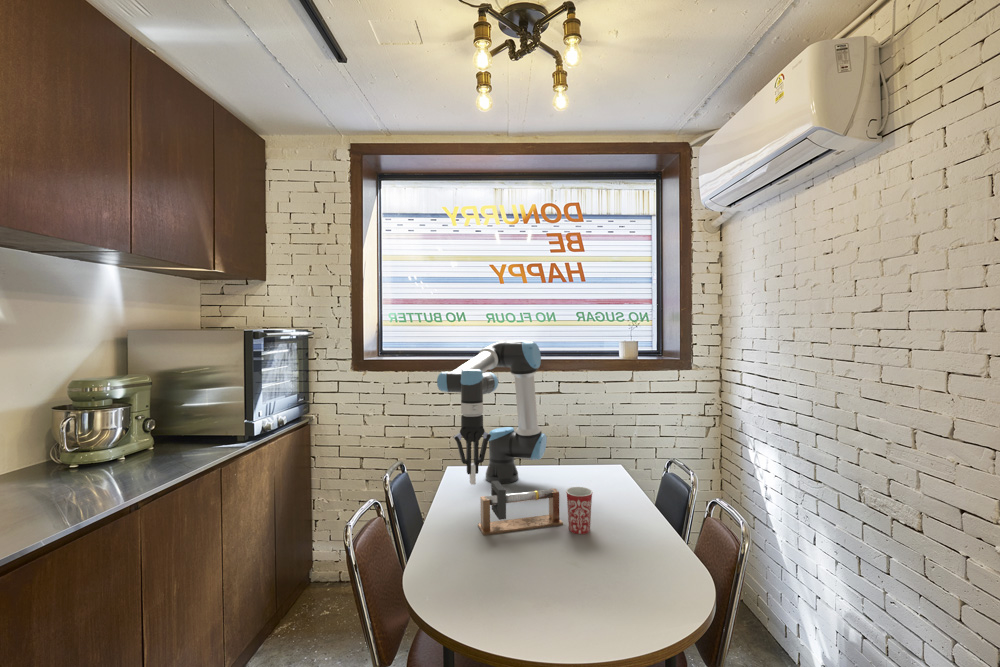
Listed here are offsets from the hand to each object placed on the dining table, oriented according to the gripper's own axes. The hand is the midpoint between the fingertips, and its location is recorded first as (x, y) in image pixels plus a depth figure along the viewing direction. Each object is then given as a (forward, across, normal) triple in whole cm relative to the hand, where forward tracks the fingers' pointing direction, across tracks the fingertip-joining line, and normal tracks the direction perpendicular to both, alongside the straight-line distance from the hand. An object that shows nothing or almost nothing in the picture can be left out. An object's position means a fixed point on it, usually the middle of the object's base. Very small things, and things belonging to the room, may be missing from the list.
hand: (472, 483), depth 163 cm
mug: (+17, +36, -8) cm, 41 cm away
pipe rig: (+17, +17, 0) cm, 24 cm away
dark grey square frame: (+12, +9, 0) cm, 15 cm away
